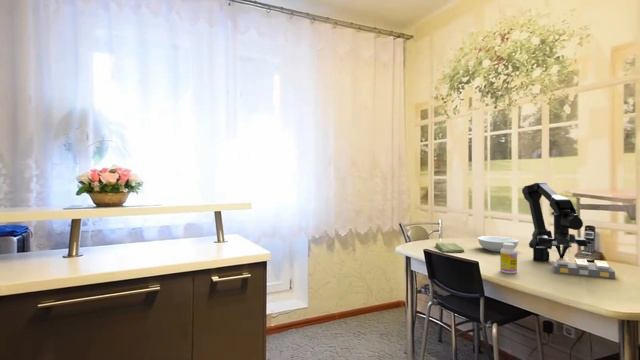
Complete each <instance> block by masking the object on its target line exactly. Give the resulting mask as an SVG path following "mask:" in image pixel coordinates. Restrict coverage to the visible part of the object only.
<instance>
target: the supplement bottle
mask: <svg viewBox="0 0 640 360" xmlns="http://www.w3.org/2000/svg"><path fill="white" fill-rule="evenodd" d="M514 247H515V246H514V244H513V243H503V249H501V251H500V252H499V255H500V257H499V258H500V262H499V263H500V267H499V268H500V272H502V273H505V274H510V275H511V274H512V275H513V274H516V273H518V251H517V250H516V248H515V249H514Z"/></svg>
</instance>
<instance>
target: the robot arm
mask: <svg viewBox="0 0 640 360" xmlns="http://www.w3.org/2000/svg"><path fill="white" fill-rule="evenodd" d="M521 192H522V195H523V198H524V200H526V202H528V205H529V211H530V214H531V219H532V224H533V227H534V228H533V229H534V230H533V232H532V234H531V236H532V238H531V240H530V241H529V242H528V246H529V249H532V261H534V262H542V263H549V261H550V251H549V250H552V248H553V247H555V248H556V250H557V253H558V255H559V258H564V257H565V254H566V252H567V251H568V249H569V248H572V245H573V244H576V245H577V246H578V247H585V248H586V247H588V244H589V243H588V240H587V239H586V238H585V237H576V234H574V233H573V234H572V233H570V230H573V231H579V230H580V229H582V227H583V226H584V223H583V220H582V218H581V217H579V214H578V213H577V210H576V208H575V207H574V205H573V202H572V200H571V199H570V198H568V197H566V196H563V195H560V194H558V193H557V192H556V191H555V190H554V189H552V188H551V187H550V186H549V185H548V184H547V182H545V181H544V182H543V181H542V182H541V181H540V182H539V181H536V182H534V183H532V184H528V185H525V186H523V188H522V189H521ZM542 196H543V197H544V198H545V199H546V200H547V201H548V202H549V206H550V208H551V210H552V212H551V215H552V216H553V234H552V230H548V229H547V227H546V224H545V219H544V215H543V211H542V205H541V202H540V201H541V198H542Z"/></svg>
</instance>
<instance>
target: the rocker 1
mask: <svg viewBox="0 0 640 360" xmlns="http://www.w3.org/2000/svg"><path fill="white" fill-rule="evenodd" d="M556 261H557V263H558V264H563V265H569V263H570V261H569V260H568V258H564V257H563V258H560V257H556Z"/></svg>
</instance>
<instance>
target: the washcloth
mask: <svg viewBox="0 0 640 360" xmlns="http://www.w3.org/2000/svg"><path fill="white" fill-rule="evenodd" d="M435 248H437V249H438V250H439V251H441V252H442V253H444V252H446V253H465V249H464V248H463V247H462V246H460V245H458V244H457V243H455V242H453V243H452V242H451V243H450V242H447V243H446V242H436V243H435Z"/></svg>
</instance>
